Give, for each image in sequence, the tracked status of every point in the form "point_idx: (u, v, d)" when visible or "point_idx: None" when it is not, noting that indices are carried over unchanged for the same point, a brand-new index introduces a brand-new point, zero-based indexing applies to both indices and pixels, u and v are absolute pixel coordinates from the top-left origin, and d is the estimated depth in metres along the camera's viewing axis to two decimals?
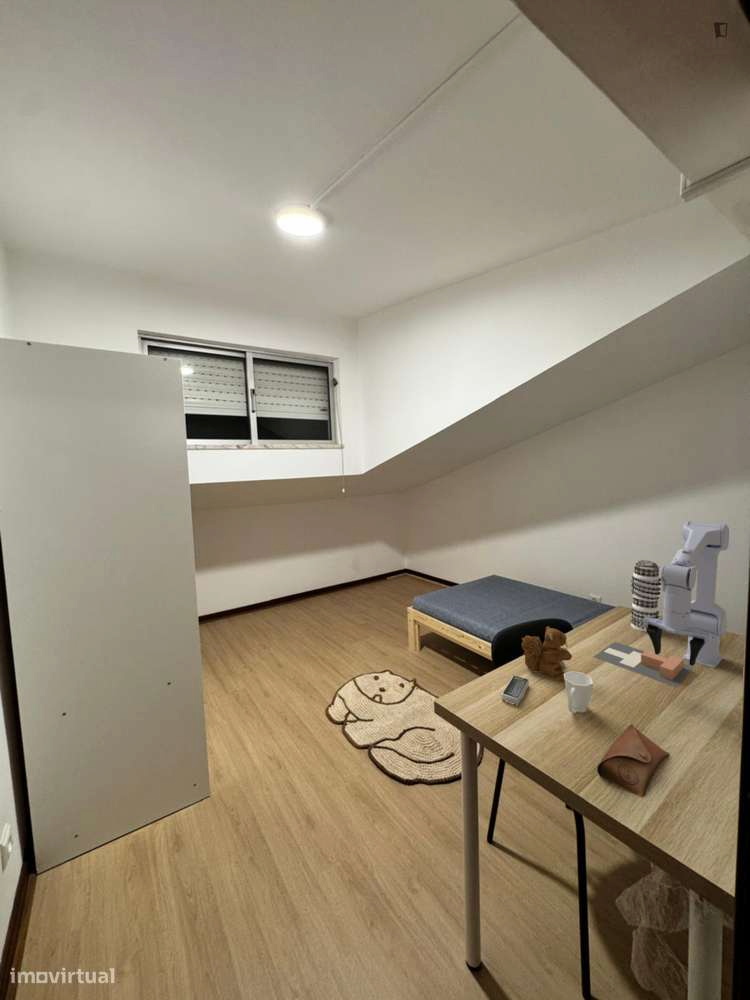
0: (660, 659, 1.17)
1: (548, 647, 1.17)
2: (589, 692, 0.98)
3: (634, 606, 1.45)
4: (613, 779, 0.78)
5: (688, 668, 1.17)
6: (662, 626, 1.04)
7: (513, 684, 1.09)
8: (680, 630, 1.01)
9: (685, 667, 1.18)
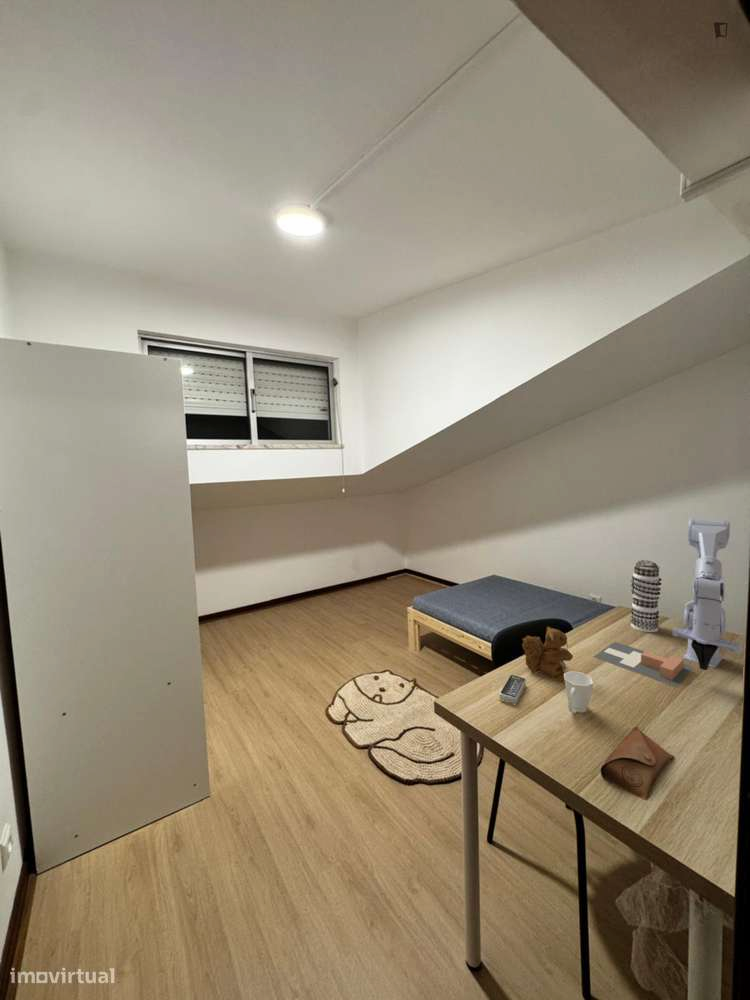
0: (660, 659, 1.17)
1: (549, 648, 1.17)
2: (589, 692, 0.98)
3: (634, 606, 1.45)
4: (616, 781, 0.78)
5: (688, 668, 1.17)
6: (692, 637, 1.09)
7: (510, 683, 1.10)
8: (710, 641, 1.05)
9: (685, 667, 1.18)
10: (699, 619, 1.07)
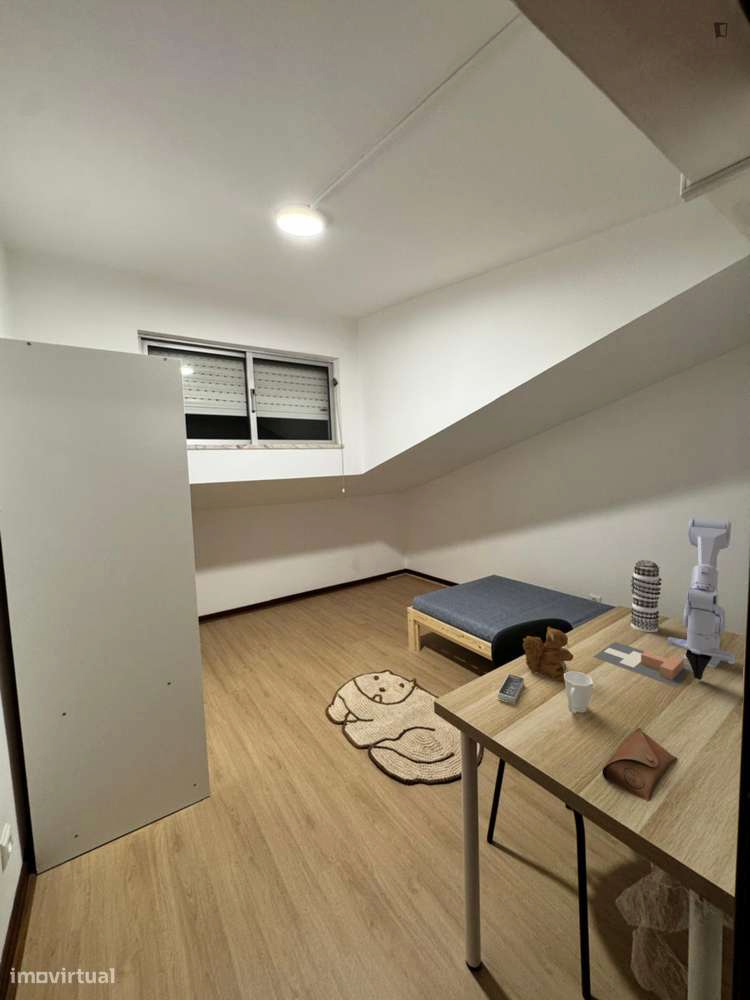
0: (660, 659, 1.17)
1: (549, 648, 1.17)
2: (589, 692, 0.98)
3: (634, 606, 1.45)
4: (618, 782, 0.77)
5: (688, 668, 1.17)
6: (686, 647, 1.10)
7: (509, 683, 1.10)
8: (704, 651, 1.07)
9: (685, 667, 1.18)
10: (692, 629, 1.08)
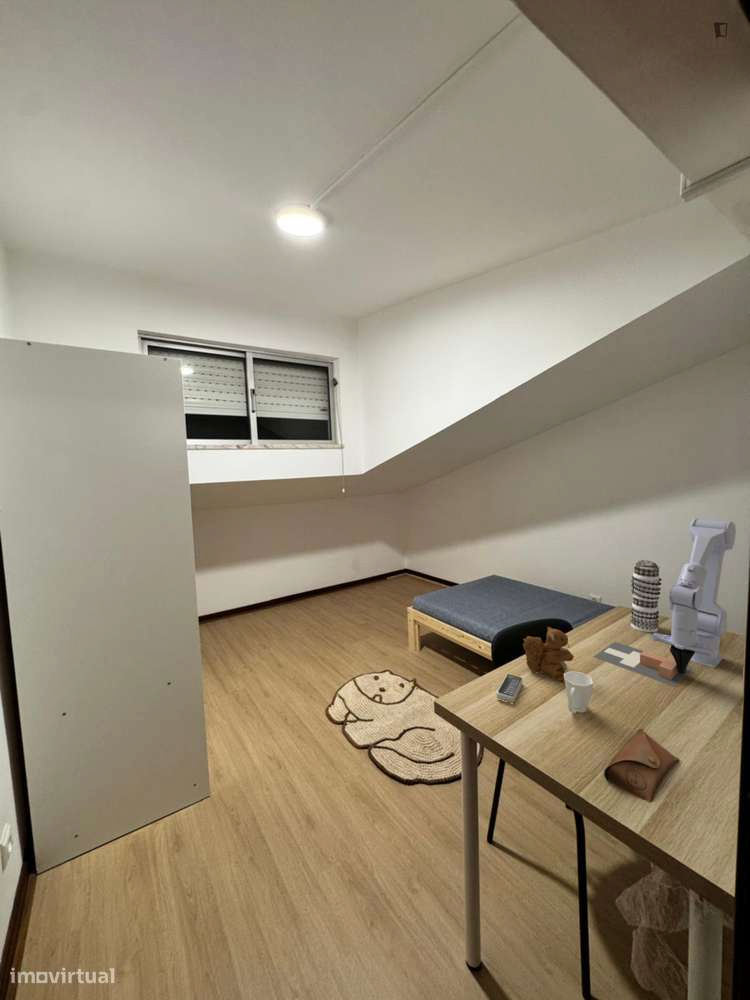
0: (659, 658, 1.17)
1: (550, 648, 1.17)
2: (589, 692, 0.99)
3: (634, 606, 1.45)
4: (620, 784, 0.77)
5: (688, 668, 1.17)
6: (670, 642, 1.13)
7: (507, 683, 1.10)
8: (687, 646, 1.10)
9: None
10: (674, 624, 1.12)
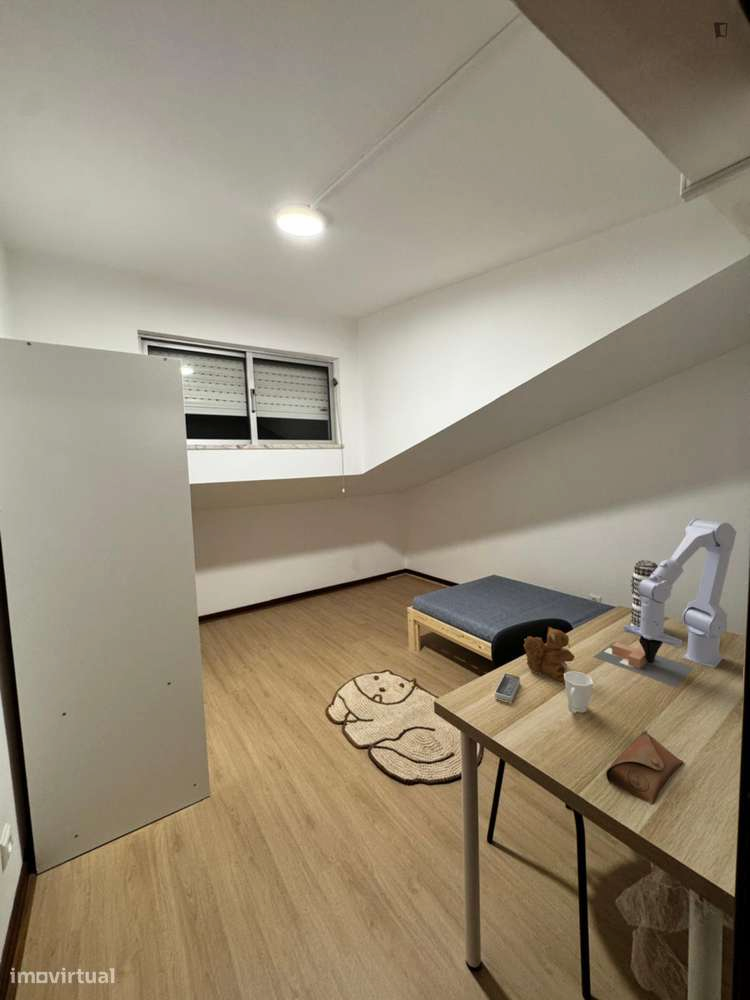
0: (629, 649, 1.23)
1: (550, 648, 1.16)
2: (589, 692, 0.98)
3: (634, 606, 1.45)
4: (622, 785, 0.77)
5: (688, 668, 1.17)
6: (639, 633, 1.19)
7: (505, 682, 1.10)
8: (654, 637, 1.16)
9: (685, 667, 1.18)
10: (641, 614, 1.19)
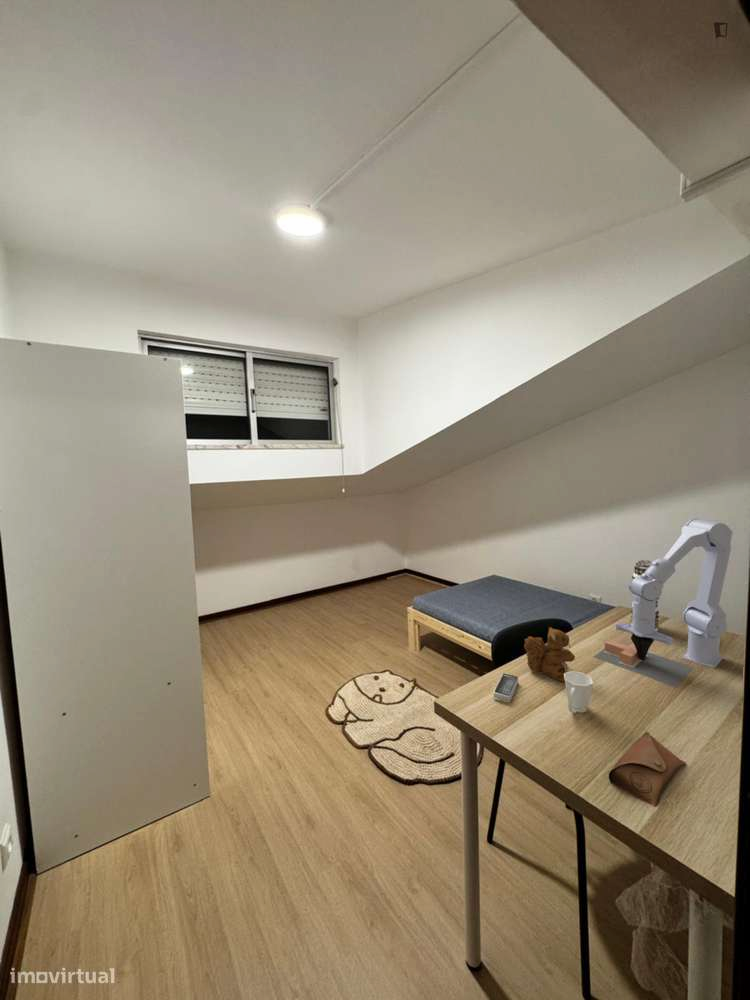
0: (622, 646, 1.25)
1: (551, 648, 1.16)
2: (589, 692, 0.98)
3: None
4: (625, 787, 0.76)
5: (688, 668, 1.17)
6: (631, 631, 1.21)
7: (503, 682, 1.11)
8: (646, 634, 1.18)
9: (685, 667, 1.18)
10: None
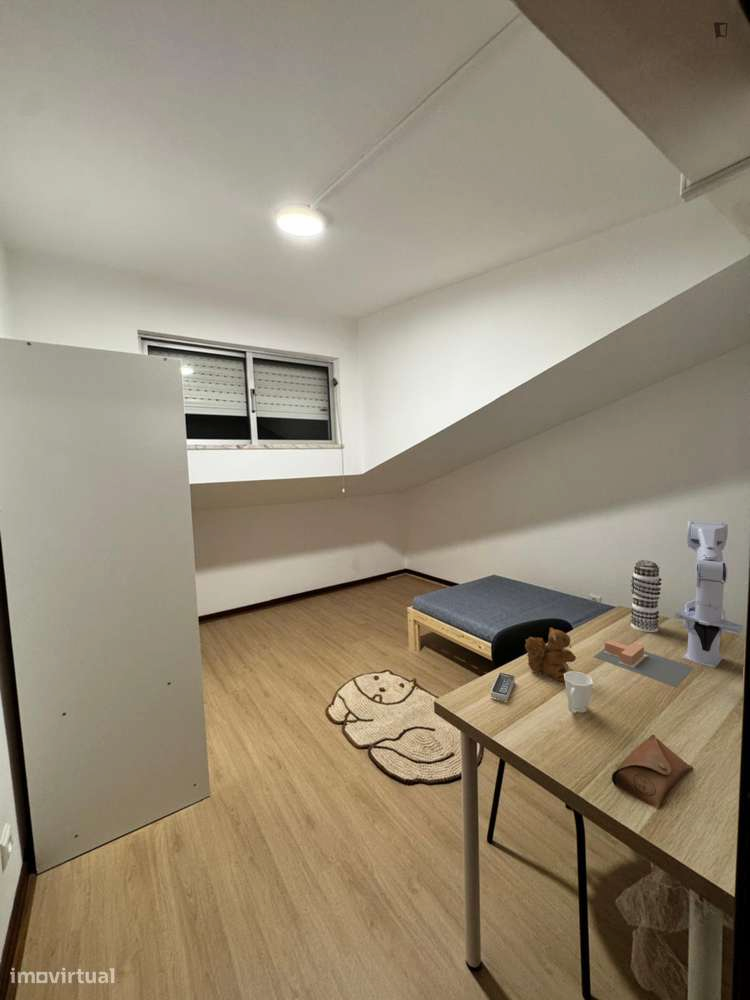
0: (622, 646, 1.25)
1: (552, 649, 1.16)
2: (589, 692, 0.99)
3: (634, 606, 1.45)
4: (628, 789, 0.76)
5: (688, 668, 1.17)
6: (694, 619, 1.09)
7: (500, 681, 1.11)
8: (713, 622, 1.06)
9: (685, 667, 1.18)
10: (702, 601, 1.08)
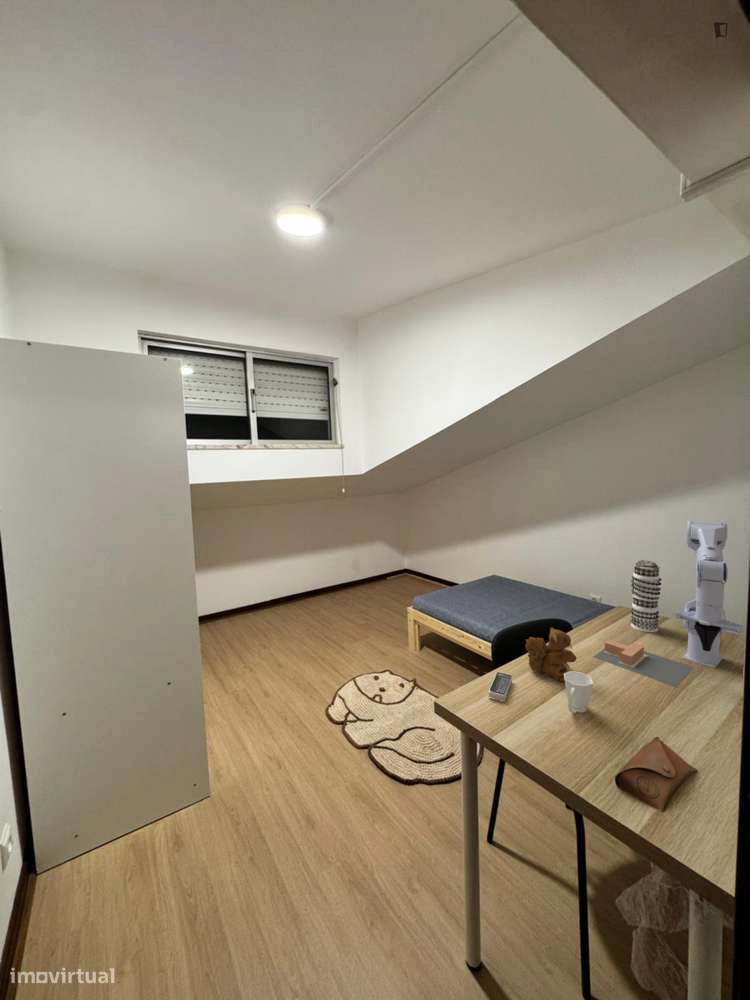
0: (622, 646, 1.25)
1: (552, 649, 1.16)
2: (589, 692, 0.99)
3: (634, 606, 1.45)
4: (631, 791, 0.75)
5: (688, 668, 1.17)
6: (695, 619, 1.09)
7: (498, 681, 1.11)
8: (713, 622, 1.06)
9: (685, 667, 1.18)
10: (702, 601, 1.07)
